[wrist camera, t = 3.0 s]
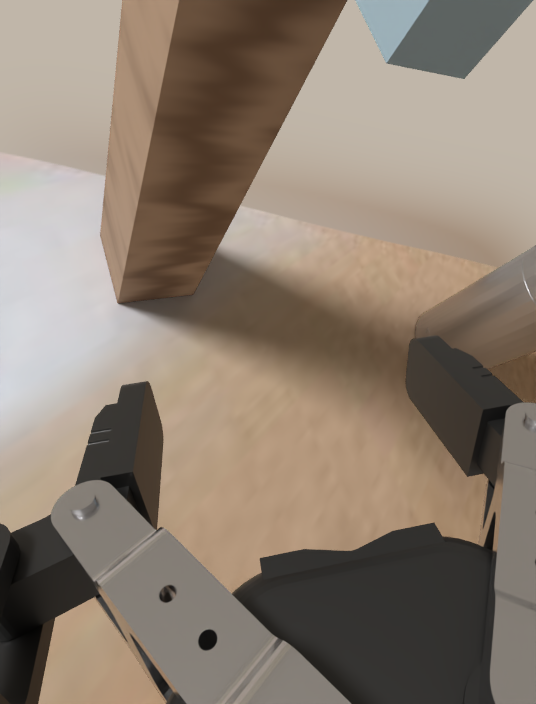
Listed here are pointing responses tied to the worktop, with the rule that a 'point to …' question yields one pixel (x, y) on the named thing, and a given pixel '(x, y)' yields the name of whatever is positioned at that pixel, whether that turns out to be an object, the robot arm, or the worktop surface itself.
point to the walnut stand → (196, 127)
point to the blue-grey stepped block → (439, 31)
